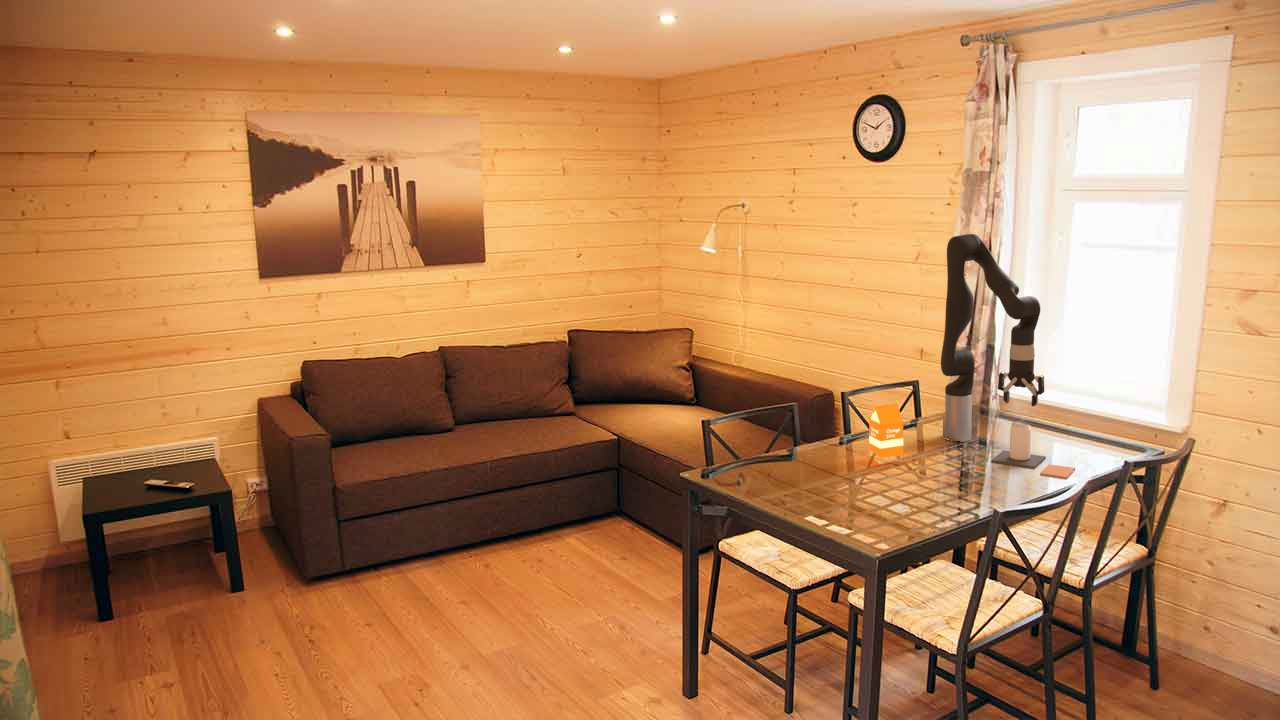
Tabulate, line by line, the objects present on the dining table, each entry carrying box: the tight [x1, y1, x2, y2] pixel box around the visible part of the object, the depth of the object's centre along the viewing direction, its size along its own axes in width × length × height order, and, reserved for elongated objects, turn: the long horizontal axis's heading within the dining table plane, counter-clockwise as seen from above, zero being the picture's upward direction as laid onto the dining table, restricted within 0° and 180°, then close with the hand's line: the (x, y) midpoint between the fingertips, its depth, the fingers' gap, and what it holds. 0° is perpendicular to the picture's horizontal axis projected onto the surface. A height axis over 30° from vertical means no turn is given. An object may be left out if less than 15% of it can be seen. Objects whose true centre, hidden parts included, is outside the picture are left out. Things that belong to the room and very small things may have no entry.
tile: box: [1039, 463, 1076, 480], centre depth 292 cm, size 8×1×10 cm
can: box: [1009, 421, 1032, 461], centre depth 304 cm, size 6×6×12 cm
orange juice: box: [868, 403, 904, 458], centre depth 312 cm, size 8×9×20 cm
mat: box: [991, 450, 1047, 470], centre depth 306 cm, size 14×12×1 cm
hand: (1020, 404), depth 302 cm, fingers open, 8 cm apart
